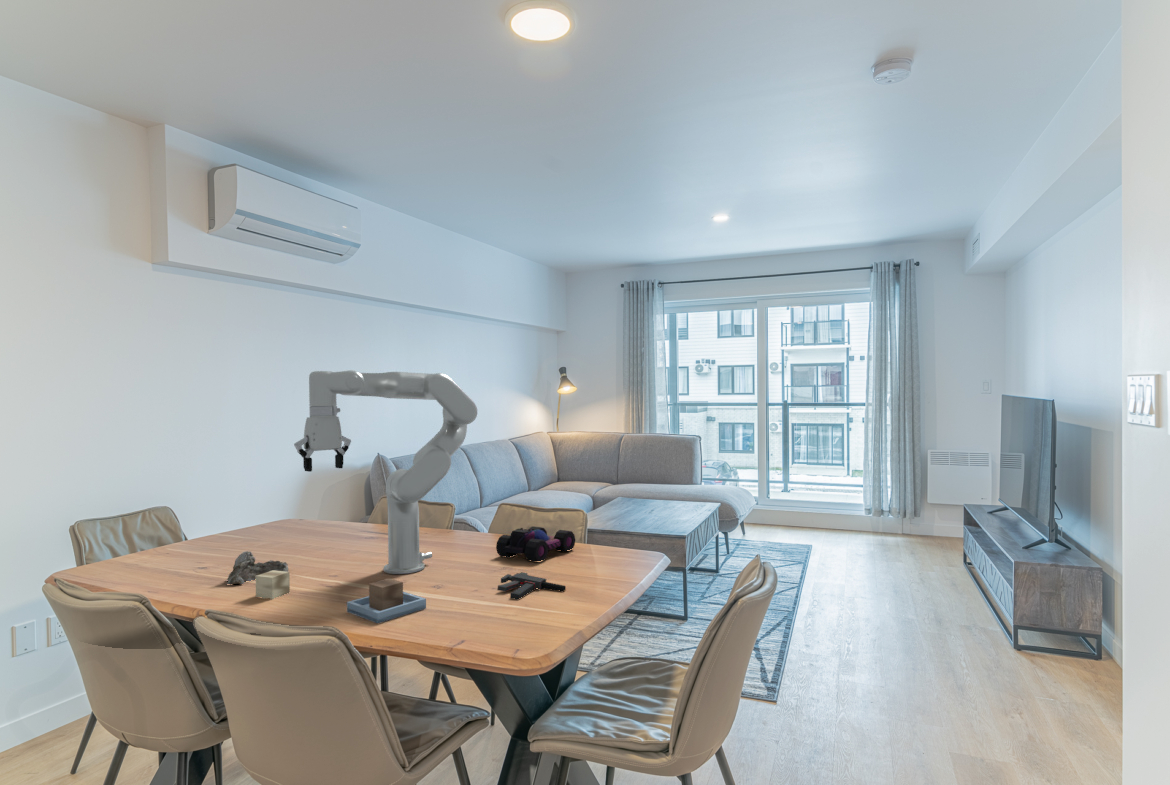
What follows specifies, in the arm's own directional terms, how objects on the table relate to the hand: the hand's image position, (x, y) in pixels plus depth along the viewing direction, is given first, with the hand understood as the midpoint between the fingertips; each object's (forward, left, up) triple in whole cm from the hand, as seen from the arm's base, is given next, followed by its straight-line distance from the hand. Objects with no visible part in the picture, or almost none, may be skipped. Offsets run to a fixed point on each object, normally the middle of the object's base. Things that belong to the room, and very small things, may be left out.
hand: (323, 469), depth 193 cm
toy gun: (-29, +56, -34) cm, 72 cm away
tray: (+4, +38, -33) cm, 51 cm away
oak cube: (+16, +1, -33) cm, 37 cm away
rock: (+11, -21, -34) cm, 41 cm away
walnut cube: (+4, +38, -32) cm, 50 cm away
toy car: (-62, +28, -34) cm, 76 cm away
